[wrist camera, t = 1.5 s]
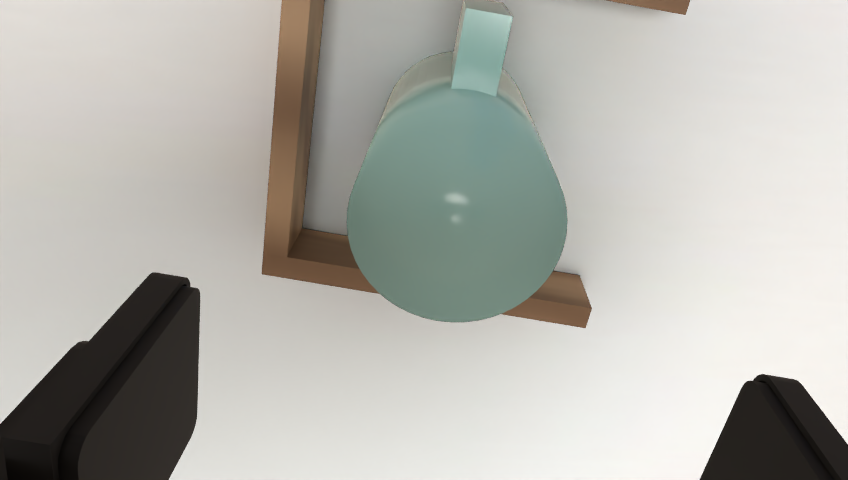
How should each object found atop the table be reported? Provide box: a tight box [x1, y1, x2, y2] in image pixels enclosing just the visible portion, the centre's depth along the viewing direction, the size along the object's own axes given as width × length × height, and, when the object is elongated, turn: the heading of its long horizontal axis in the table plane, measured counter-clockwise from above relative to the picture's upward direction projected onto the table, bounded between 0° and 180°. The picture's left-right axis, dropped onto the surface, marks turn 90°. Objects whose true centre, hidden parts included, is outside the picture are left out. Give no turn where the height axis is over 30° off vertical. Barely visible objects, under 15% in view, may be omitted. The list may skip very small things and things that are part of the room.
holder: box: [262, 0, 690, 328], centre depth 27 cm, size 14×14×3 cm
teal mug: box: [347, 0, 567, 322], centre depth 23 cm, size 8×6×11 cm
